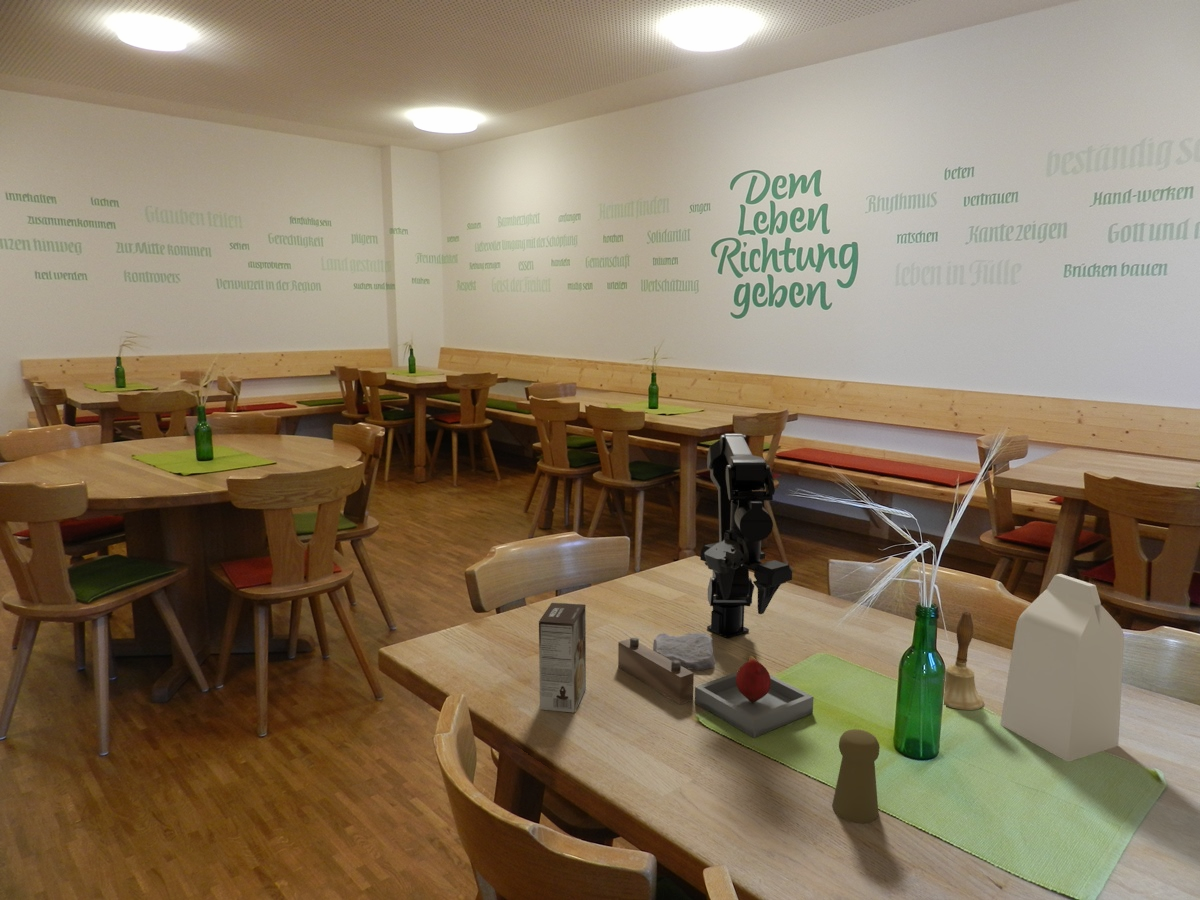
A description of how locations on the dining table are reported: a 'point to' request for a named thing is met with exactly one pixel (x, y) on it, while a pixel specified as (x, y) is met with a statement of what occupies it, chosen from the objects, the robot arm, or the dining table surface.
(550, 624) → the coffee box
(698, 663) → the stone block
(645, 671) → the bar
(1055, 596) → the milk
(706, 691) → the tray
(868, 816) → the brown peg figure
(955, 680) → the hand bell
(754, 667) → the onion
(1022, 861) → the dining table surface
